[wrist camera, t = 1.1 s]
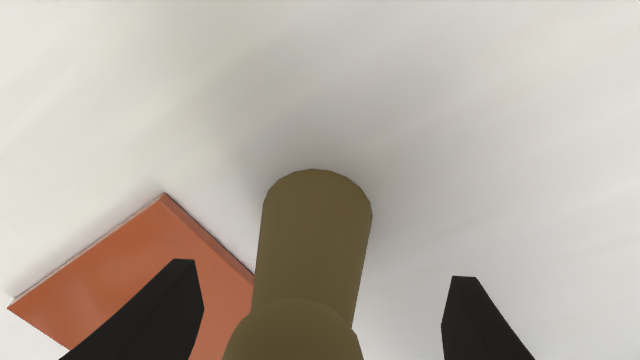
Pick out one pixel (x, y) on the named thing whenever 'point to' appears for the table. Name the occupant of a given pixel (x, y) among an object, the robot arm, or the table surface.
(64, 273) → the tile
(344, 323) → the cork
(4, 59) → the table surface
